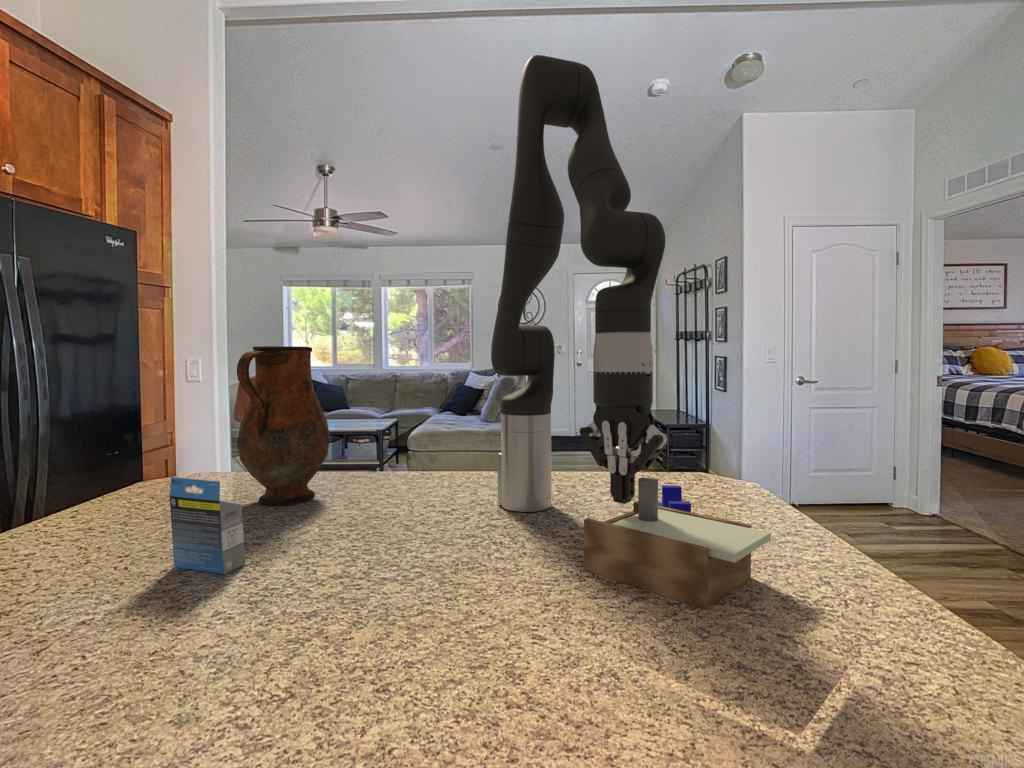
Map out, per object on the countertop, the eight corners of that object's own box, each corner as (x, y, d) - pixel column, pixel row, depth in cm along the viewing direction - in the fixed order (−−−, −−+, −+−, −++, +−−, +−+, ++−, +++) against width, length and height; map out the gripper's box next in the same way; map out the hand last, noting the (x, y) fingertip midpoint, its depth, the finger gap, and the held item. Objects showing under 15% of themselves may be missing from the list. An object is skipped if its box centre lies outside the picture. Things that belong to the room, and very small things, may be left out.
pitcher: (346, 489, 118) (343, 346, 117) (288, 519, 97) (283, 344, 96) (274, 487, 121) (270, 347, 120) (203, 514, 100) (197, 345, 99)
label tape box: (246, 565, 76) (243, 474, 75) (222, 576, 72) (219, 481, 71) (196, 558, 79) (193, 470, 78) (170, 568, 75) (166, 476, 74)
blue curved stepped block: (652, 519, 96) (652, 484, 95) (680, 520, 95) (680, 485, 95) (659, 543, 84) (659, 503, 84) (690, 544, 83) (691, 504, 83)
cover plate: (610, 530, 69) (610, 483, 69) (653, 514, 76) (653, 471, 76) (734, 562, 58) (735, 506, 58) (770, 540, 65) (771, 489, 65)
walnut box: (584, 575, 71) (583, 519, 71) (636, 551, 80) (636, 501, 79) (704, 616, 60) (705, 549, 59) (750, 583, 68) (751, 524, 68)
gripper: (564, 368, 75) (564, 498, 76) (652, 369, 65) (651, 517, 66) (598, 367, 80) (598, 488, 81) (684, 368, 71) (683, 505, 72)
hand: (622, 501), depth 74 cm, fingers closed
